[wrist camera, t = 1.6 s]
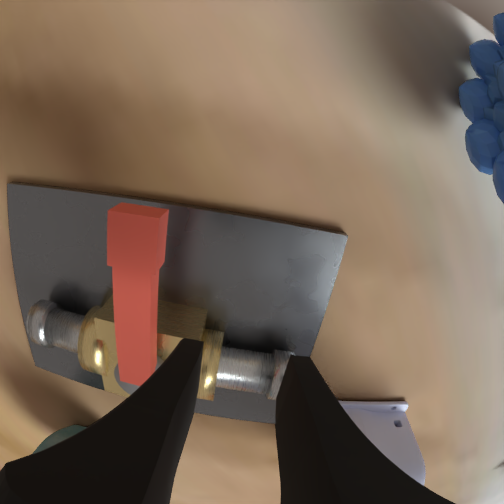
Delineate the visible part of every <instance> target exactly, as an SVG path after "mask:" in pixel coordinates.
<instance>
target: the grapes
mask: <svg viewBox="0 0 504 504" xmlns="http://www.w3.org/2000/svg"><path fill="white" fill-rule="evenodd" d="M493 30H494V34H495V38H496V40H497V41H498V43H499V44H498V43H497V42H495V41H492V40H486V39H484V40H480V41H476V42H475V43H473V44H472V45H470V46H469V56H470V61H471V65H472V67H473V69H474V71H475V73H476V75H477V76H478V77H480V78H481V79H479V78H474V79H470V80H467V81H466V82H464V83H463V84H462V85H461V86H460V87H459V99H460V105H461V108H462V110H463V112H464V114H465V116H466V117H467V118H468V119H469V120H470V121H471V122H472V123H473V124H472V125H470V126H469V127H468V129H467V130H466V134H465V142H466V150H467V152H468V155H469V158H470V161H471V162H472V163H473V164H474V166H475V167H476V168H477V169H478V170H479V171H480V172H483V173H486V174H489V175H491V174H493V182H494V186H495V189H496V192H497V195H498V197H499V198H500V199H501V201H502V202H503V203H504V13H500V14H497V15H495V16H494V18H493Z"/></svg>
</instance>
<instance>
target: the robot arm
mask: <svg viewBox="0 0 504 504" xmlns="http://www.w3.org/2000/svg"><path fill="white" fill-rule="evenodd" d="M203 345H204V341H198V340H193V339H188V338H183V339H182V340H180V342H179V343H178V345H177V346H176V347H175V349H174V350H173V351H172V353H171V354H170V355H169V356H168V357H167V359H166V360H165V361H164V362H163V363H162V364H161V365H160V367H159V368H158V369H157V370H156V371H155V372H154V373H153V374H152V375H151V376H150V377H149V378H148V379H147V380H146V381H145V382H144V383H143V384H142V385H141V386H140V387H139V388H138V389H137V390H136V391H134V392H133V393H132V394H131V395H130V396H129V397H128V398H127V399H126V400H124V401H123V402H122V403H121V404H119V405H118V406H117V407H116V408H114V409H113V410H112V411H110V412H109V413H108V414H106V415H105V416H103V417H102V418H101V419H99V420H98V421H96V422H94V423H93V424H91V425H90V426H88V427H87V428H85V429H83V430H82V431H80V432H78V433H77V434H75V435H73V436H71V437H69V438H67V439H65V440H63V441H61V442H59V443H57V444H55V445H53V446H51V447H49V448H47V449H44V450H42V451H40V452H37V453H34V454H31V455H29V456H26V457H23V458H20V459H17V460H14V461H11V462H8V463H6V464H5V466H4V467H3V468H2V470H1V471H0V504H169V503H170V498H171V492H172V487H173V482H174V477H175V473H176V470H177V466H178V463H179V460H180V456H181V453H182V450H183V447H184V444H185V440H186V437H187V434H188V431H189V428H190V424H191V421H192V418H193V415H194V410H195V405H196V400H197V394H198V389H199V381H200V372H201V363H202V354H203ZM407 408H408V403H407V402H406V401H398V402H359V401H338V400H337V399H336V397H335V396H334V394H333V393H332V391H331V390H330V388H329V387H328V385H327V384H326V382H325V381H324V379H323V377H322V376H321V374H320V373H319V371H318V369H317V368H316V366H315V364H314V363H313V361H312V360H311V358H310V357H307V356H298V355H290V358H289V361H288V364H287V367H286V370H285V373H284V376H283V379H282V382H281V385H280V388H279V391H278V394H277V397H276V414H275V429H276V440H277V450H278V461H279V471H280V482H281V504H455V503H453V502H451V501H449V500H447V499H445V498H443V497H441V496H440V495H438V494H436V493H434V492H432V491H431V490H429V489H428V488H426V487H425V486H424V483H425V464H424V460H423V457H422V454H421V451H420V449H419V446H418V444H417V441H416V439H415V436H414V434H413V431H412V429H411V426H410V424H409V421H408V419H407V416H406V414H405V411H406V410H407Z"/></svg>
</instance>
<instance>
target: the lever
mask: <svg viewBox="0 0 504 504" xmlns="http://www.w3.org/2000/svg"><path fill="white" fill-rule="evenodd" d="M168 214H169V209H163V208H156V207H150V206H143V205H137V204H130V203H123V202H121V203H119V204H118V205H116V206H114V207H113V208H111V209H109V210H108V218H107V266H112V279H113V306H114V323H115V336H116V348H117V358H118V363H117V365H116V367H115V369H114V376H115V379H116V381H117V383H118V384H119V386H120V387H121V388H122V389H123V390H124V391H126V392H127V393H128V394H130V395H131V394H132V393H133V392H134V391H136V390H137V389H138V388H139V387H140V386H141V385H142V384H143V383H144V382H145V381H146V380H147V379H148V378H149V377H150V376H151V375H152V374H153V373H154V372H155V371H156V370H157V369H158V368H159V367H160V365H161V364H162V363H163V362H164V360H163V359H162V358H160V357H159V356H158V355H157V310H158V284H159V269H160V268H161V266H162V265H163V263H164V262H165V249H166V236H167V225H168Z"/></svg>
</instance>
